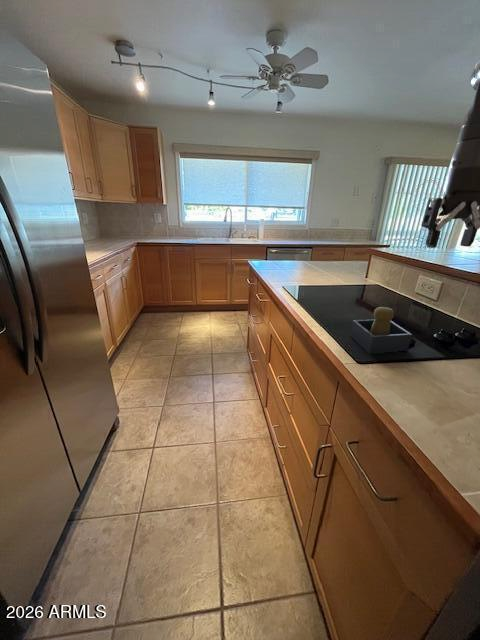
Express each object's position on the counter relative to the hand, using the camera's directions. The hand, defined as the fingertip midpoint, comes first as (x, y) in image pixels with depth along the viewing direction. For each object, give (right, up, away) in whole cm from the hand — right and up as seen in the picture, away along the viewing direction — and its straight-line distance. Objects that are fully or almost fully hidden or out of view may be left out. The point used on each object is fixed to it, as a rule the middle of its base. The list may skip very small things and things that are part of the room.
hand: (448, 246), depth 61 cm
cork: (-6, -24, +20) cm, 32 cm away
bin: (-6, -24, +20) cm, 32 cm away
